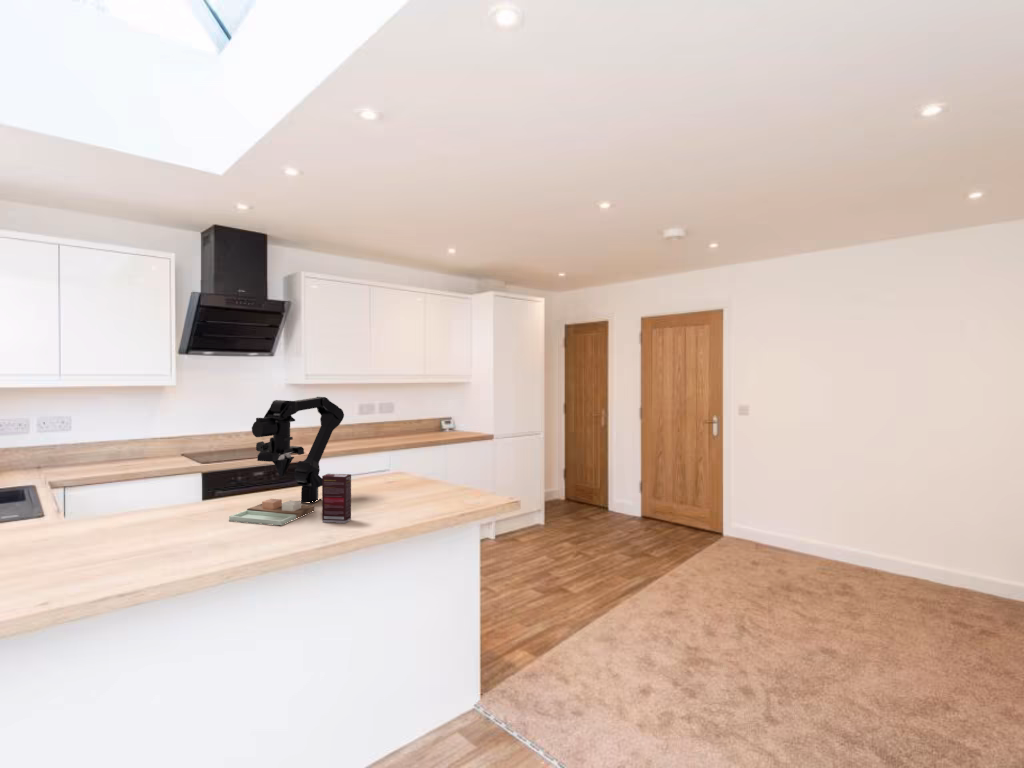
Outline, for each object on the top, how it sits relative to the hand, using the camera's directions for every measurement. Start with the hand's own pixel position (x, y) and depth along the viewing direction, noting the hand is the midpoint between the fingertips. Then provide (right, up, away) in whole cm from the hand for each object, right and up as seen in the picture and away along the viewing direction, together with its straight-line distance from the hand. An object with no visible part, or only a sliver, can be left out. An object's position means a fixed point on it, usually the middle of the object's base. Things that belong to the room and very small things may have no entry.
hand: (281, 476), depth 189 cm
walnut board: (+2, -12, -4) cm, 13 cm away
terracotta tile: (-1, -10, -5) cm, 11 cm away
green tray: (0, -12, -13) cm, 18 cm away
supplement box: (+25, -13, -13) cm, 30 cm away
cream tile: (+7, -10, -6) cm, 14 cm away
